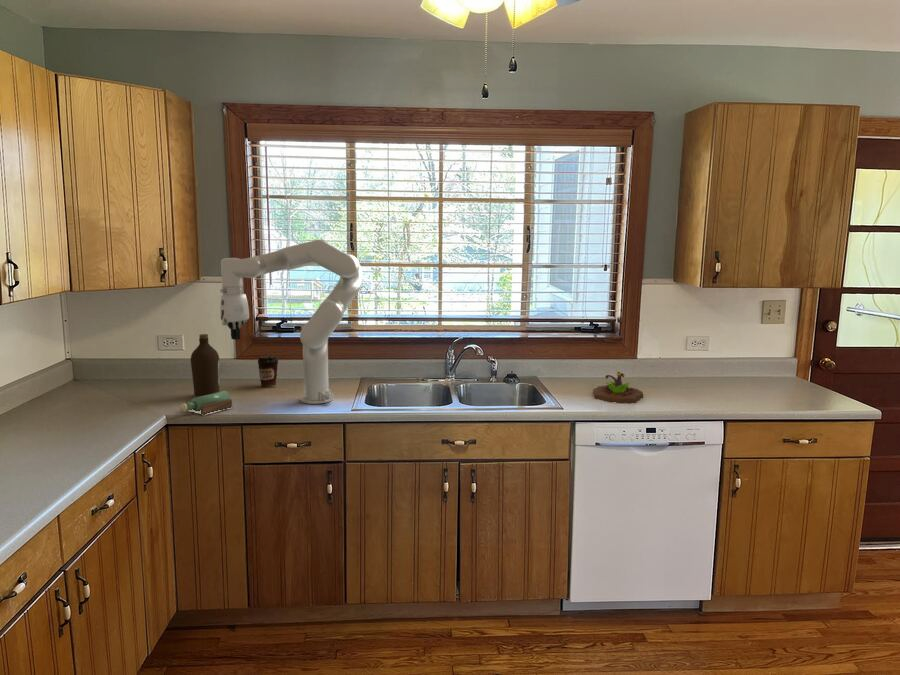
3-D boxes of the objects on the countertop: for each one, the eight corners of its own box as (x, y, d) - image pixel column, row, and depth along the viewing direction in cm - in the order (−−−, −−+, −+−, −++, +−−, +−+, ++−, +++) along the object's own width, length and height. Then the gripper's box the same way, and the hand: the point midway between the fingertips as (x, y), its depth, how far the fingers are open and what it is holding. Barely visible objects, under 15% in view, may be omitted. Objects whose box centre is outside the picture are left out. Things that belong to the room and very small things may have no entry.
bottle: (228, 390, 242) (185, 401, 228) (230, 403, 243) (187, 415, 228) (220, 390, 245) (177, 400, 231) (222, 403, 246) (179, 414, 231)
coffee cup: (275, 389, 268) (274, 358, 266) (256, 388, 269) (254, 358, 266) (281, 384, 277) (280, 354, 275) (262, 383, 277) (261, 354, 275)
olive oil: (198, 401, 249) (194, 337, 245) (189, 395, 257) (185, 334, 253) (225, 396, 256) (221, 335, 251) (215, 391, 264) (212, 331, 260)
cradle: (232, 408, 240) (231, 399, 239) (203, 416, 230) (203, 406, 229) (214, 403, 246) (213, 394, 245) (185, 410, 236) (185, 401, 236)
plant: (588, 401, 256) (589, 373, 254) (595, 389, 274) (597, 363, 272) (640, 406, 249) (642, 378, 247) (644, 394, 267) (646, 367, 265)
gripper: (222, 293, 233) (225, 343, 236) (255, 290, 245) (258, 337, 248) (209, 292, 237) (212, 340, 240) (243, 288, 249) (245, 335, 252)
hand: (235, 338), depth 244 cm, fingers closed
